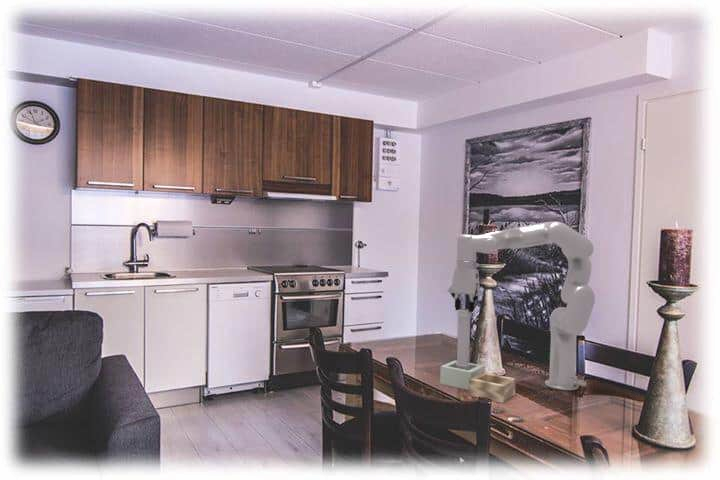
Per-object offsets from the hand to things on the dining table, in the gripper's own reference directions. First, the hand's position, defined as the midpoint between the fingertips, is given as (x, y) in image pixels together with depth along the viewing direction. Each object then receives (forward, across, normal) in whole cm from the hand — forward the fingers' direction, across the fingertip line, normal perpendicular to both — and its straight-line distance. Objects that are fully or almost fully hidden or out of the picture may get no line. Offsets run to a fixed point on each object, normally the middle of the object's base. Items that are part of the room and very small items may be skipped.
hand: (464, 310), depth 212 cm
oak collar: (+29, -15, +6) cm, 34 cm away
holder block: (+29, 0, 0) cm, 29 cm away
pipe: (+24, 0, 0) cm, 24 cm away
